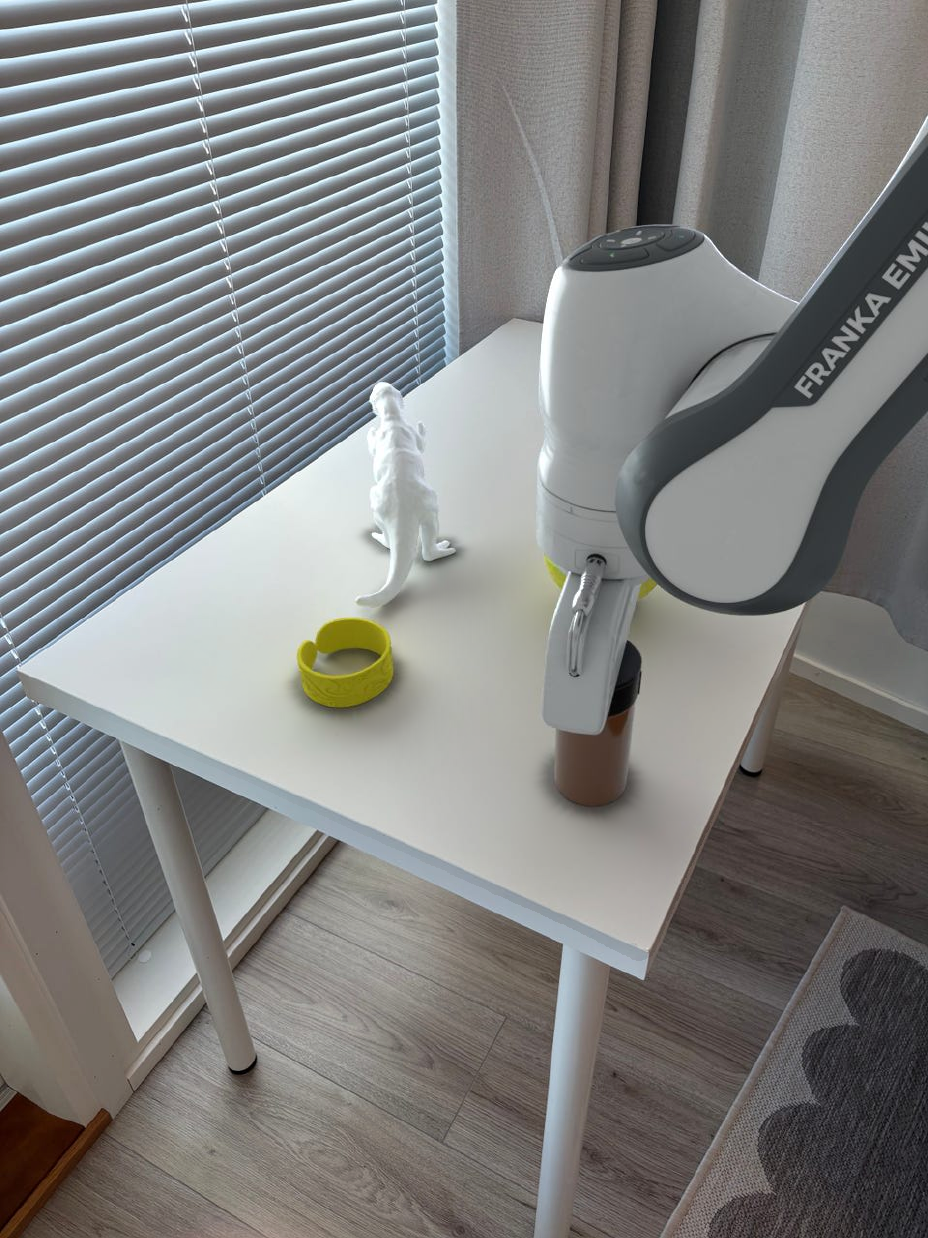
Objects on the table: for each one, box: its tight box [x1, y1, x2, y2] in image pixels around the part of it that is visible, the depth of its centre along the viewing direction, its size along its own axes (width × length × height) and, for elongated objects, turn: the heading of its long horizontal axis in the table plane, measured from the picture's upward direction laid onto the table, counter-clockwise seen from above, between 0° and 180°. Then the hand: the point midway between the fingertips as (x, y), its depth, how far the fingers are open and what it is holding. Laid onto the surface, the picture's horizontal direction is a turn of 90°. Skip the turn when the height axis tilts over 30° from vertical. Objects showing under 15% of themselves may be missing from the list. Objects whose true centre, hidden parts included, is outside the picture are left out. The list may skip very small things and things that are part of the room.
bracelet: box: [296, 617, 394, 708], centre depth 80 cm, size 7×8×3 cm
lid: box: [607, 639, 643, 716], centre depth 64 cm, size 6×6×3 cm
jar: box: [553, 700, 637, 807], centre depth 67 cm, size 5×5×12 cm
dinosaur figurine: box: [354, 381, 457, 609], centre depth 89 cm, size 20×10×15 cm, turn 170°
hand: (597, 684), depth 65 cm, fingers closed on lid, 5 cm apart
